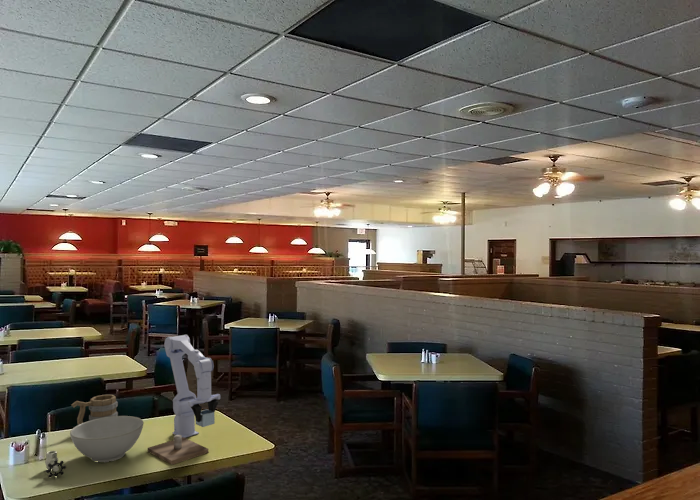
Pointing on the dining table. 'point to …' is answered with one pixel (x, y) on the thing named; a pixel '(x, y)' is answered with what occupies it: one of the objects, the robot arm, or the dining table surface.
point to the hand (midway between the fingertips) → (204, 419)
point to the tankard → (98, 407)
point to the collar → (206, 418)
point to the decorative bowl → (107, 437)
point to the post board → (177, 450)
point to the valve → (53, 464)
